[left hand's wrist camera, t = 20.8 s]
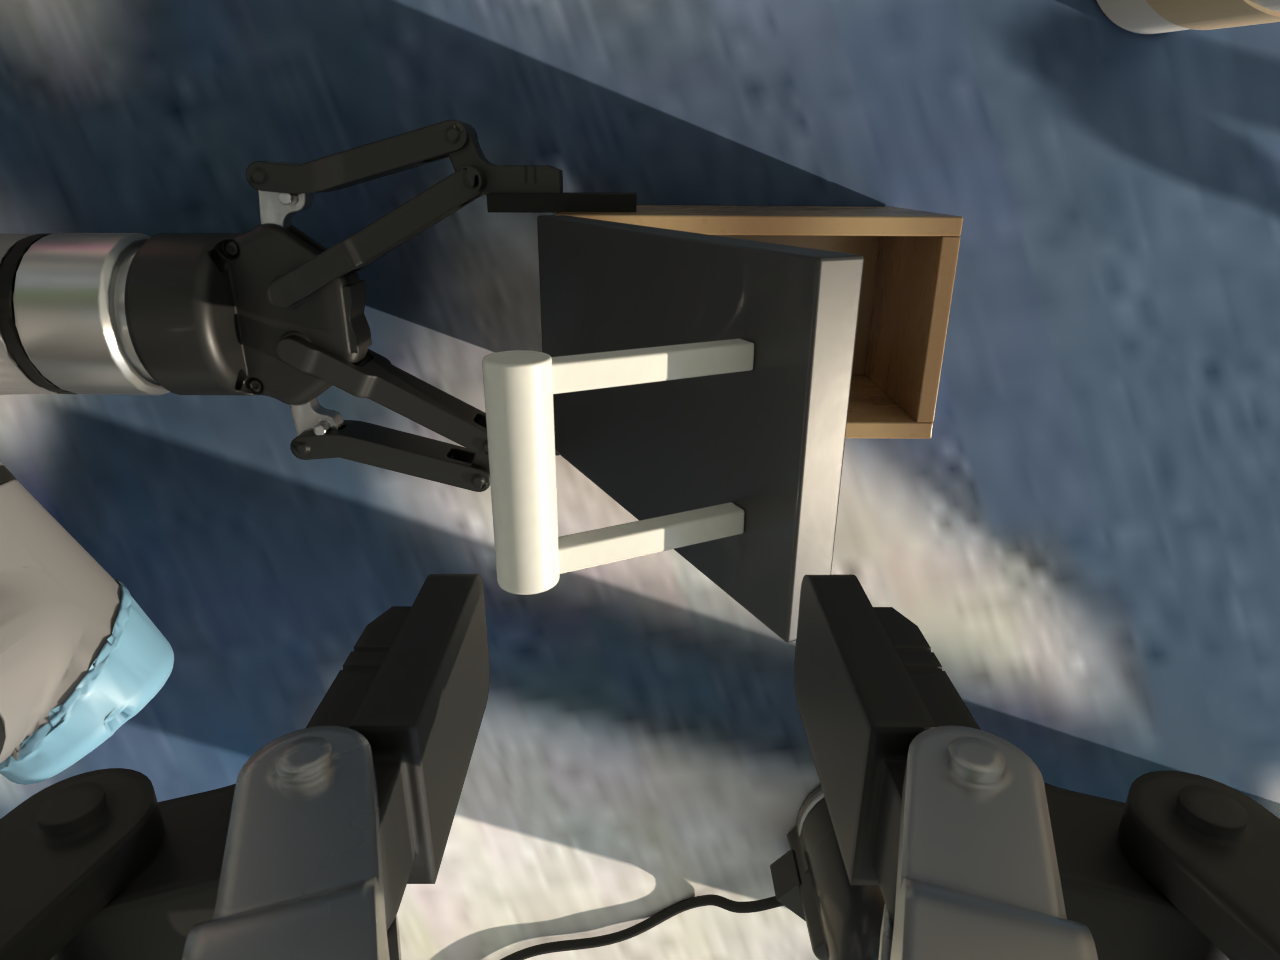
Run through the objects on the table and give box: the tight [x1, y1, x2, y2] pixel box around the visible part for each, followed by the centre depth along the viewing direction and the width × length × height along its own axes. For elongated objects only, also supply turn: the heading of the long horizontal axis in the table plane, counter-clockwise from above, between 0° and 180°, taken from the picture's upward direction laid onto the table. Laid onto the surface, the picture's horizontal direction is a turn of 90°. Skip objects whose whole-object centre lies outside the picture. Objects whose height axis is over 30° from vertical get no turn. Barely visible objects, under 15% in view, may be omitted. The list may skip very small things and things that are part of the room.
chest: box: [555, 205, 963, 439], centre depth 39 cm, size 17×10×10 cm, turn 90°
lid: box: [482, 215, 864, 642], centre depth 25 cm, size 18×10×8 cm
